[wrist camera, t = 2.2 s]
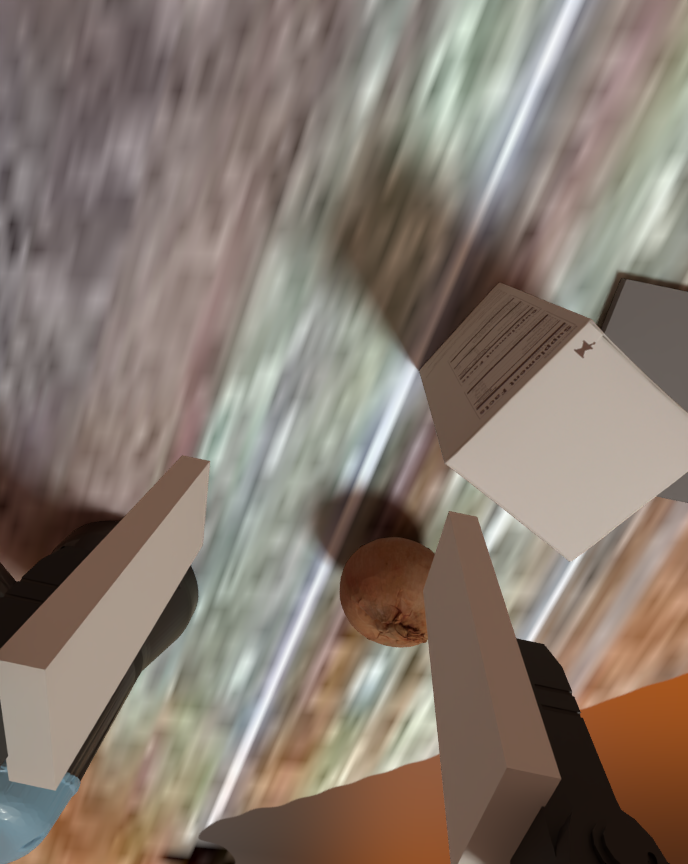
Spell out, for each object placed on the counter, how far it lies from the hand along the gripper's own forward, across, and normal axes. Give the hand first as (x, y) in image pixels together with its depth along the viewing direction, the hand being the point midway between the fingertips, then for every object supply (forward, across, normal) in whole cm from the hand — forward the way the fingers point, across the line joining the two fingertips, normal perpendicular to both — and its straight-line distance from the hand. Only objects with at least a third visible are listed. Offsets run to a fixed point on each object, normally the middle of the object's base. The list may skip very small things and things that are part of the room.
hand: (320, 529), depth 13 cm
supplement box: (+27, -11, 0) cm, 29 cm away
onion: (+27, -7, +20) cm, 34 cm away
